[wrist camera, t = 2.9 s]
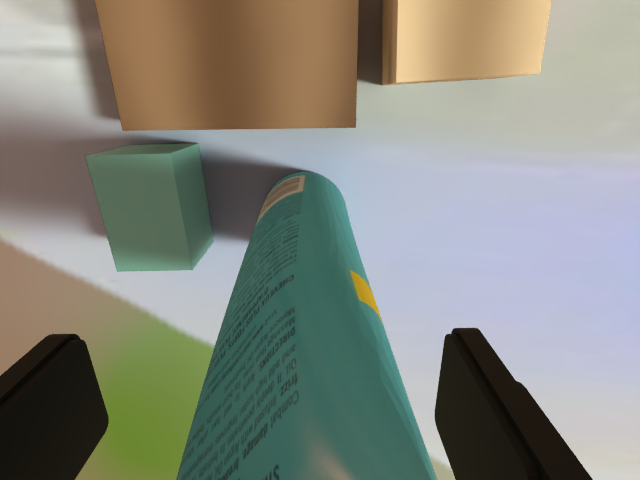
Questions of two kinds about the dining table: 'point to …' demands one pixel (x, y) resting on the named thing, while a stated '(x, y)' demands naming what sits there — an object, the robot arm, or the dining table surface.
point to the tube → (303, 359)
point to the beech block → (462, 39)
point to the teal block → (153, 205)
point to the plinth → (232, 63)
